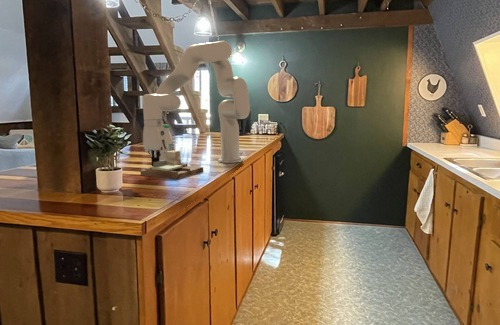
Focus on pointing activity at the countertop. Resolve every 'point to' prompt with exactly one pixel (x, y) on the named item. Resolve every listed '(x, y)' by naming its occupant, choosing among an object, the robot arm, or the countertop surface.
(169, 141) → the milk bottle
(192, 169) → the board
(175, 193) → the countertop surface
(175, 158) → the block
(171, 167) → the lid
